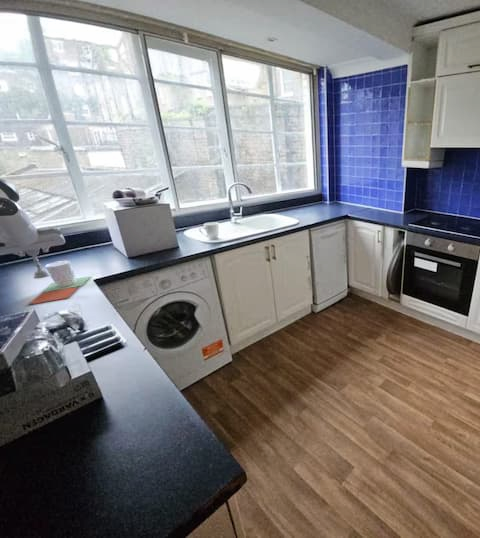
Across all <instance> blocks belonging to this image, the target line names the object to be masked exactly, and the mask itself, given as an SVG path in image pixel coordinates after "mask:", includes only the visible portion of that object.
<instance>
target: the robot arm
mask: <svg viewBox="0 0 480 538" xmlns="http://www.w3.org/2000/svg"><path fill="white" fill-rule="evenodd" d="M18 201H20V194H19V191H18V189H17V188H16V186H15V185H13V184H12V183H10V182H9V181H7V180H5V179H2V178H0V256H5V255H11V254H12V255H17V256H19V257H20V258H22V257H25V256H26V255H27V254H26V253H25V252H24V251H28V250H34V249H39V248H40V249H41V250H42V252H43V253H48V252H50V250H49V249H50V248H51V247H55V246H62V245H65V244H66V239H65V237H64V235H63V231H62V230H61V229H60V228H54V227H50V228H49V227H48V228H43V229H37V228H36V226H35V225H34V223H33V222H32V221H31V218H30V217H29V215H28V214H27V212H26V211H25V210H24V209H23V207H21V206H20V205H19V204H18V203H17V202H18Z"/></svg>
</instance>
